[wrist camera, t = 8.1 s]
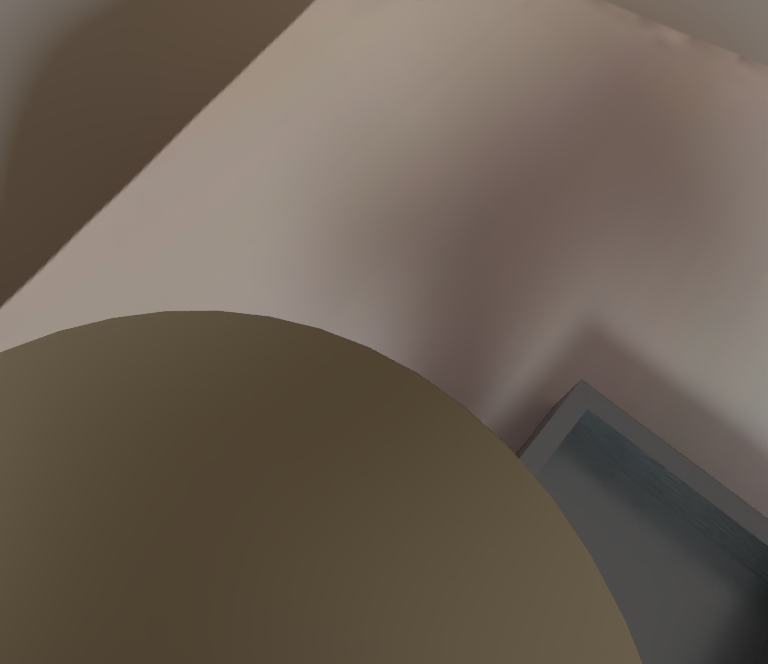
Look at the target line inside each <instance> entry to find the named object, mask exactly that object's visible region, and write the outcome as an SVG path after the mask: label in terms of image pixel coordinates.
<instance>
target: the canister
mask: <svg viewBox="0 0 768 664" xmlns="http://www.w3.org/2000/svg"><path fill="white" fill-rule="evenodd" d="M0 664H642V661H641V659H640V656H639V654H638V651H637V649H636V646H635V644H634V641H633V639H632V636H631V633H630V631H629V628H628V626H627V623H626V621H625V619H624V617H623V615H622V614H621V612H620V610H619V608H618V606H617V604H616V602H615V600H614V598H613V596H612V595H611V593H610V591H609V589H608V587H607V585H606V583H605V581H604V579H603V577H602V575H601V574H600V572H599V570H598V568H597V566H596V564H595V562H594V560H593V558H592V556H591V555H590V553H589V552H588V550H587V549H586V547H585V546H584V544H583V543H582V541H581V540H580V538H579V537H578V535H577V534H576V532H575V531H574V529H573V528H572V526H571V525H570V523H569V522H568V521H567V519H566V518H565V516H564V515H563V513H562V512H561V510H560V509H559V507H558V506H557V504H556V503H555V501H554V500H553V498H552V497H551V496H550V494H549V493H548V492H547V491H546V490H545V489H544V487H543V486H542V485H541V484H540V483H539V482H538V480H537V479H536V478H535V477H534V476H533V475H532V474H531V472H530V471H529V470H528V469H527V468H526V467H525V465H524V464H523V463H522V462H521V461H520V460H519V458H518V457H517V456H516V455H515V454H514V453H513V451H512V450H511V449H510V448H509V447H508V446H507V445H506V444H505V443H504V442H503V441H502V440H500V439H499V438H498V437H497V436H496V435H495V434H494V433H493V432H492V431H491V430H489V429H488V428H487V427H486V426H485V425H484V424H483V423H482V422H481V421H480V420H479V419H477V418H476V417H475V416H474V415H473V414H472V413H471V412H470V411H469V410H468V409H466V408H465V407H464V406H463V405H462V404H460V403H459V402H457V401H456V400H455V399H453V398H452V397H450V396H449V395H447V394H446V393H445V392H443V391H442V390H440V389H439V388H438V387H436V386H435V385H433V384H432V383H430V382H429V381H428V380H426V379H425V378H423V377H422V376H421V375H419V374H418V373H416V372H414V371H412V370H410V369H409V368H407V367H405V366H403V365H401V364H399V363H397V362H395V361H394V360H392V359H390V358H388V357H386V356H384V355H382V354H380V353H379V352H377V351H375V350H373V349H371V348H369V347H367V346H364V345H361V344H359V343H356V342H353V341H351V340H348V339H346V338H343V337H340V336H338V335H335V334H332V333H330V332H327V331H324V330H322V329H319V328H315V327H311V326H306V325H302V324H298V323H294V322H290V321H286V320H281V319H277V318H273V317H269V316H260V315H251V314H242V313H233V312H224V311H165V312H157V313H149V314H141V315H133V316H126V317H118V318H111V319H107V320H103V321H99V322H95V323H91V324H87V325H83V326H78V327H74V328H70V329H66V330H62V331H58V332H56V333H53V334H50V335H47V336H44V337H42V338H39V339H36V340H33V341H31V342H28V343H25V344H22V345H19V346H17V347H14V348H11V349H8V350H6V351H3V352H1V353H0Z"/></svg>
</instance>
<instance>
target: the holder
mask: <svg viewBox="0 0 768 664" xmlns="http://www.w3.org/2000/svg"><path fill="white" fill-rule="evenodd" d="M516 456H517V457H518V458H519V460H520V461H521V462H522V463H523V464H524V465H525V467H526V468H527V469H528V470H529V471H530V472H531V474H532V475H533V476H534V477H535V478H536V479H537V480H538V482H539V483H540V484H541V485H542V486H543V487H544V489H545V490H546V491H547V492H548V493H549V494H550V496H551V497H552V498H553V500H554V501H555V503H556V504H557V506H558V507H559V509H560V510H561V512H562V513H563V515H564V516H565V518H566V519H567V521H568V522H569V523H570V525H571V526H572V528H573V529H574V531H575V532H576V534H577V535H578V537H579V538H580V540H581V541H582V543H583V544H584V546H585V547H586V549H587V550H588V552H589V553H590V555H591V556H592V558H593V560H594V562H595V564H596V566H597V568H598V570H599V572H600V574H601V575H602V577H603V579H604V581H605V583H606V585H607V587H608V589H609V591H610V593H611V595H612V596H613V598H614V600H615V602H616V604H617V606H618V608H619V610H620V612H621V614H622V615H623V617H624V619H625V621H626V623H627V626H628V628H629V631H630V633H631V636H632V639H633V641H634V644H635V646H636V649H637V651H638V654H639V656H640V659H641V661H642V664H768V518H766V517H765V516H764V515H762V514H761V513H759V512H758V511H757V510H755V509H754V508H753V507H751V506H750V505H749V504H747V503H746V502H745V501H743V500H742V499H741V498H739V497H738V496H737V495H735V494H734V493H733V492H731V491H730V490H729V489H727V488H726V487H725V486H723V485H722V484H721V483H719V482H718V481H717V480H715V479H714V478H713V477H711V476H710V475H709V474H707V473H706V472H705V471H703V470H702V469H701V468H699V467H698V466H697V465H695V464H694V463H693V462H691V461H690V460H689V459H687V458H686V457H685V456H683V455H682V454H681V453H679V452H678V451H677V450H675V449H674V448H673V447H671V446H670V445H669V444H667V443H666V442H665V441H663V440H662V439H661V438H659V437H658V436H656V435H655V434H654V433H652V432H651V431H650V430H648V429H647V428H646V427H644V426H643V425H642V424H640V423H639V422H638V421H636V420H635V419H634V418H632V417H631V416H630V415H628V414H627V413H626V412H624V411H623V410H622V409H620V408H619V407H618V406H616V405H615V404H614V403H612V402H611V401H610V400H608V399H607V398H606V397H604V396H603V395H602V394H600V393H599V392H598V391H596V390H595V389H594V388H592V387H591V386H590V385H588V384H587V383H586V382H584V381H583V380H581V381H580V382H579V383H578V384H576V385H575V386H574V387H573V388H572V389H571V390H570V391H569V392H568V393H567V394H566V395H565V396H564V397H563V398H562V399H561V400H560V401H559V402H558V403H557V404H556V405H555V406H554V407H553V409H552V410H551V411H550V412H549V414H548V415H547V416H546V417H545V419H544V420H543V421H542V422H541V424H540V425H539V426H538V427H537V429H536V430H535V431H534V433H533V434H532V435H531V436H530V438H529V439H528V440H527V441H526V443H525V444H524V445H523V446H522V448H521V449H520V450H519V451H518V453H517V454H516Z"/></svg>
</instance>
